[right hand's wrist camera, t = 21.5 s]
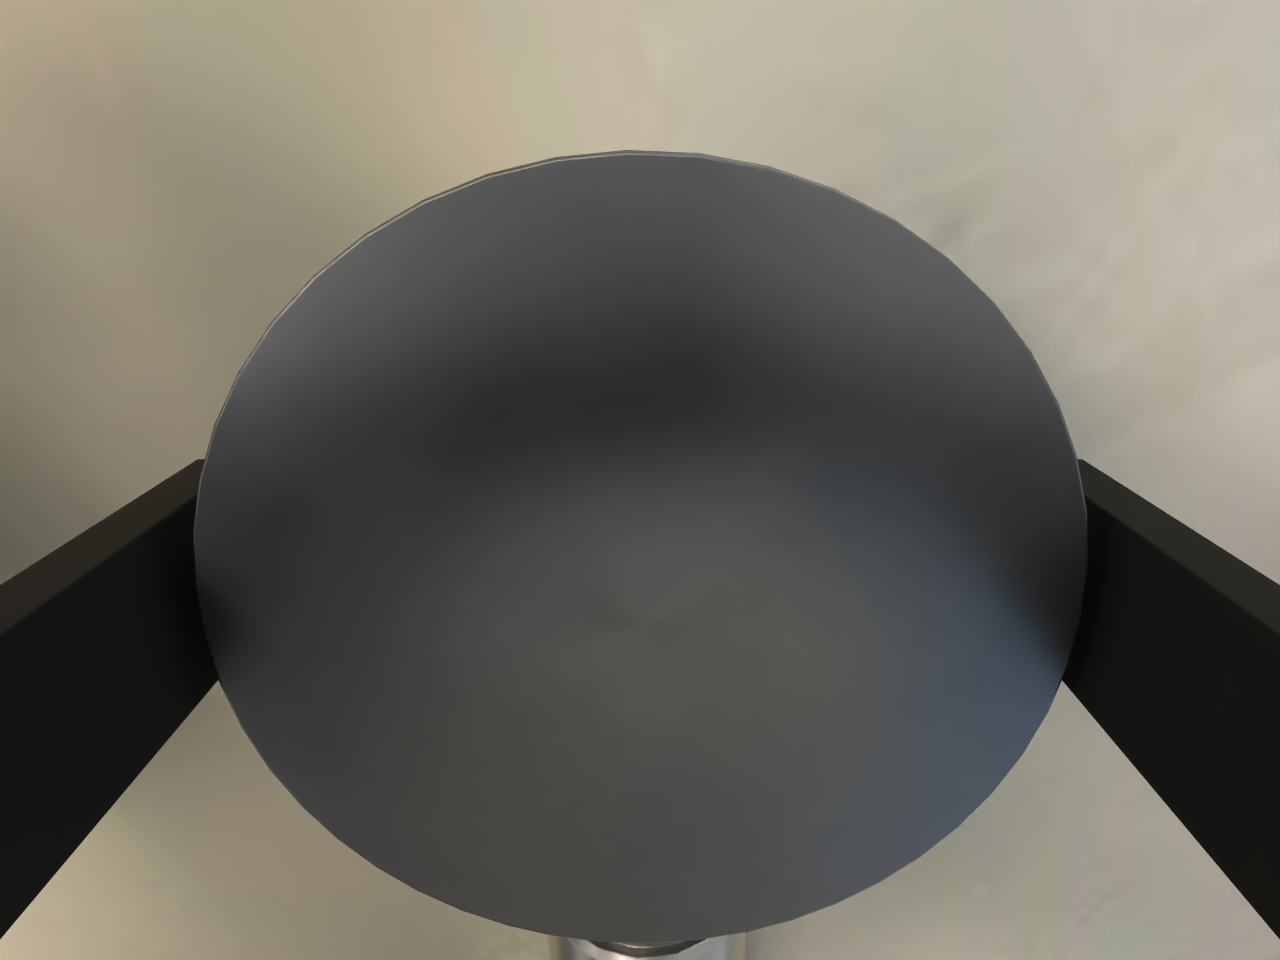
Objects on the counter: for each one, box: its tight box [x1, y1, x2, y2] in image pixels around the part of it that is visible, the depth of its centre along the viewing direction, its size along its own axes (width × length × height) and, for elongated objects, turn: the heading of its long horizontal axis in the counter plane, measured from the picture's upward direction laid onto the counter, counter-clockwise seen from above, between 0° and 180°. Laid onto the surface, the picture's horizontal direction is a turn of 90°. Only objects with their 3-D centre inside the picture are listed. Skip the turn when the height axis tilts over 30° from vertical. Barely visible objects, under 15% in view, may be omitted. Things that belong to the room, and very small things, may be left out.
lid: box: [193, 150, 1088, 943], centre depth 11 cm, size 11×11×2 cm
